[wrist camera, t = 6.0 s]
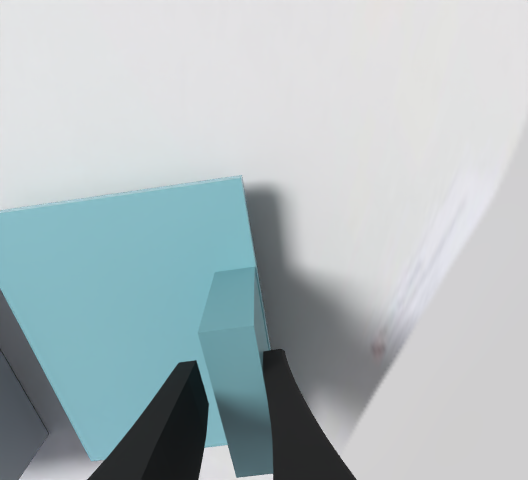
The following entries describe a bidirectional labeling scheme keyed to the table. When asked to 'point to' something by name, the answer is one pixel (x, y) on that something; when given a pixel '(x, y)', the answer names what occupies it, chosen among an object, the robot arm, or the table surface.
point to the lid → (144, 308)
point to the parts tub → (16, 426)
